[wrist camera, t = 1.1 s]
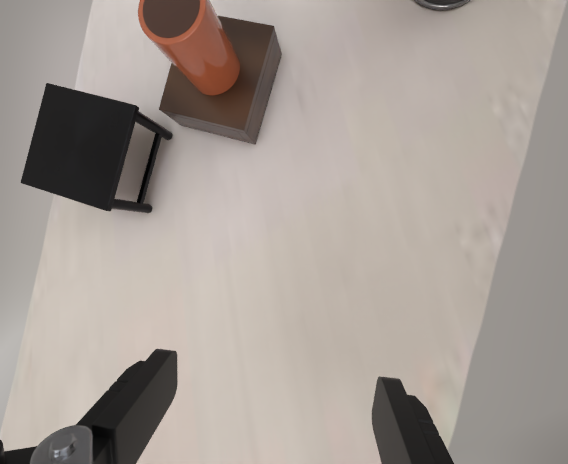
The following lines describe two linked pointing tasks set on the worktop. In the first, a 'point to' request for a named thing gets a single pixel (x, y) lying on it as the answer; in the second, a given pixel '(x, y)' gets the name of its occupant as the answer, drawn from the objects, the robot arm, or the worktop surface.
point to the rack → (86, 148)
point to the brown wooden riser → (241, 96)
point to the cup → (192, 42)
